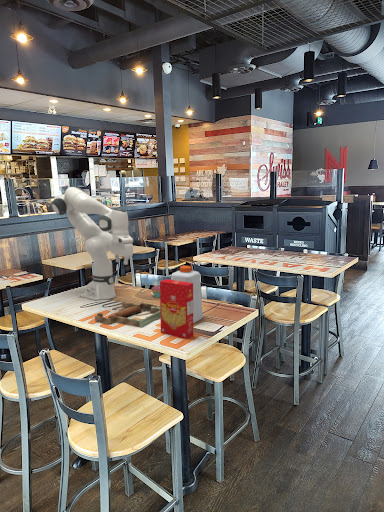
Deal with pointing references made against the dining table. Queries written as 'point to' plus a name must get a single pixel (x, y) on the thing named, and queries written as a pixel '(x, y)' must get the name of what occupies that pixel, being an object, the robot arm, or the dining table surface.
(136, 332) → the dining table surface
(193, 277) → the plastic bottle
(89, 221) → the robot arm
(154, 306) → the trap lane
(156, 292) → the cupcake
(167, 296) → the food packaging
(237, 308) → the dining table surface
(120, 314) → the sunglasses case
